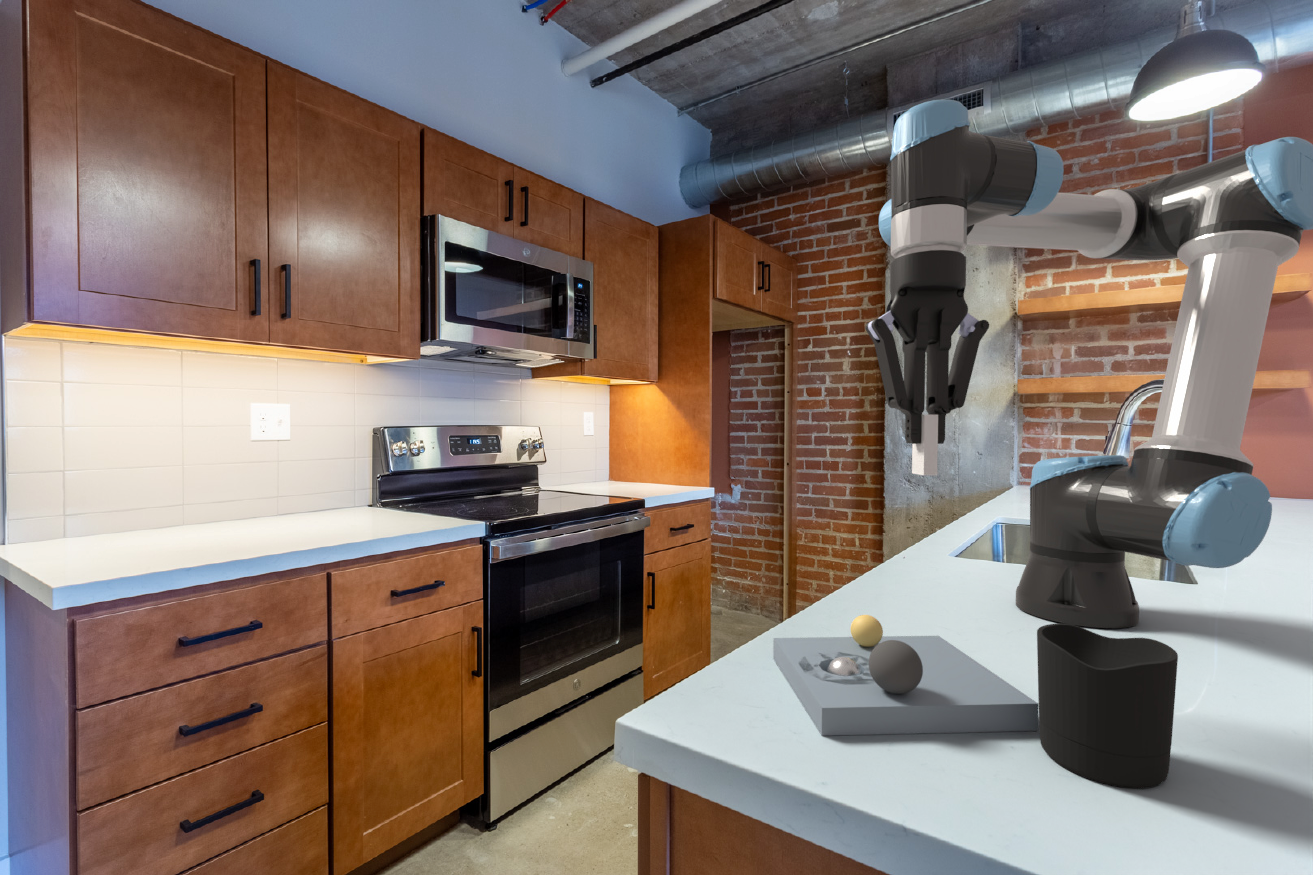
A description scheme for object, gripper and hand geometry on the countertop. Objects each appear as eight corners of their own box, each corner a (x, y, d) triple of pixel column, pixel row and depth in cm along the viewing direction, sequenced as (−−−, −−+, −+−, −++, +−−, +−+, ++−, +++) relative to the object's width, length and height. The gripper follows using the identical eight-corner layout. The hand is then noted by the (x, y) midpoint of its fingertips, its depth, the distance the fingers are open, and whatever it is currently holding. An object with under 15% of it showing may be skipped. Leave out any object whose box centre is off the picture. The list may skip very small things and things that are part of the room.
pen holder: (1103, 729, 57) (1105, 621, 57) (1207, 788, 48) (1210, 660, 48) (1009, 736, 56) (1011, 625, 55) (1098, 799, 46) (1101, 666, 46)
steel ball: (860, 672, 67) (844, 645, 66) (873, 687, 63) (856, 658, 63) (832, 689, 67) (816, 662, 66) (844, 705, 63) (827, 676, 63)
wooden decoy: (875, 640, 73) (875, 610, 73) (887, 651, 69) (888, 620, 69) (845, 640, 73) (846, 610, 73) (857, 651, 69) (857, 620, 69)
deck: (938, 656, 75) (938, 635, 75) (1037, 730, 57) (1038, 703, 57) (773, 658, 74) (773, 637, 73) (821, 735, 56) (821, 707, 56)
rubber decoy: (908, 680, 61) (908, 632, 61) (932, 702, 57) (933, 650, 57) (860, 681, 61) (861, 633, 61) (880, 703, 56) (881, 651, 56)
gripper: (967, 266, 71) (963, 471, 72) (855, 264, 71) (853, 471, 71) (1007, 248, 64) (1003, 477, 64) (882, 245, 63) (880, 477, 64)
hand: (924, 474), depth 68 cm, fingers closed
